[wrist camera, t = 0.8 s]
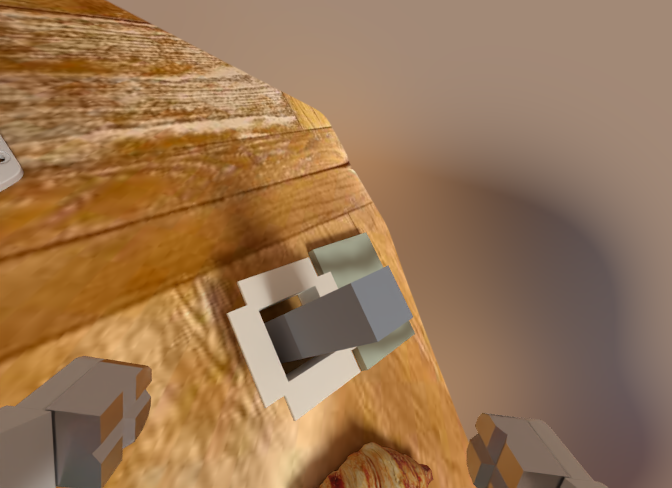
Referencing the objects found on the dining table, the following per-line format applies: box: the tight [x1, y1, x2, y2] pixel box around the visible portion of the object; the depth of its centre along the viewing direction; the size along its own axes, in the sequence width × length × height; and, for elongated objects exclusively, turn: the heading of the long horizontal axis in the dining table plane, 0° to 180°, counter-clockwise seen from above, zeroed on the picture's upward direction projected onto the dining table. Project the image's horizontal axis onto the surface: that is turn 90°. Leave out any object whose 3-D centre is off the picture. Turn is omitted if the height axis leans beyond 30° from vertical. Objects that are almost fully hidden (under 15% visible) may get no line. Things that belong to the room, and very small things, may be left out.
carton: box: [227, 257, 360, 421], centre depth 43 cm, size 17×16×5 cm
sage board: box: [308, 233, 415, 371], centre depth 55 cm, size 20×13×2 cm, turn 30°
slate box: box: [264, 266, 413, 363], centre depth 37 cm, size 6×6×20 cm
